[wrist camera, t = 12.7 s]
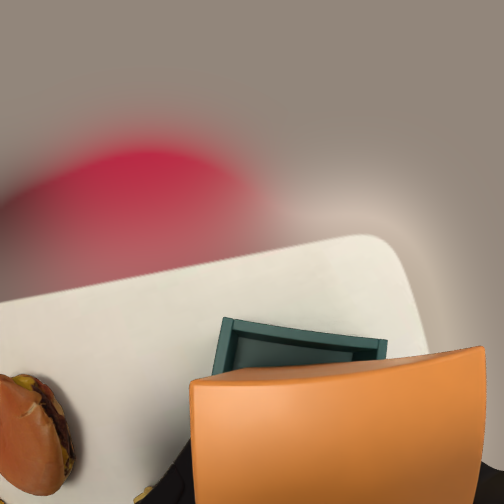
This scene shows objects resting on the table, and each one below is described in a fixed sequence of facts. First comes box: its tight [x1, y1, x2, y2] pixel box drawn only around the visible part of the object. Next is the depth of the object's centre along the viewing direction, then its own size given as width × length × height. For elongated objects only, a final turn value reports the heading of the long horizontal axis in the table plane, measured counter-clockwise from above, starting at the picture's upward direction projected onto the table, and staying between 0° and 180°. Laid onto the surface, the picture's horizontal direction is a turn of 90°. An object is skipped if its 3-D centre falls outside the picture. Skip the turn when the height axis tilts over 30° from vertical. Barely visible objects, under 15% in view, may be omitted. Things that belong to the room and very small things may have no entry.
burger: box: [0, 374, 75, 496], centre depth 12 cm, size 10×9×5 cm
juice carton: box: [189, 346, 486, 504], centre depth 9 cm, size 5×5×13 cm
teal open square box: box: [211, 317, 388, 376], centre depth 13 cm, size 8×8×4 cm
